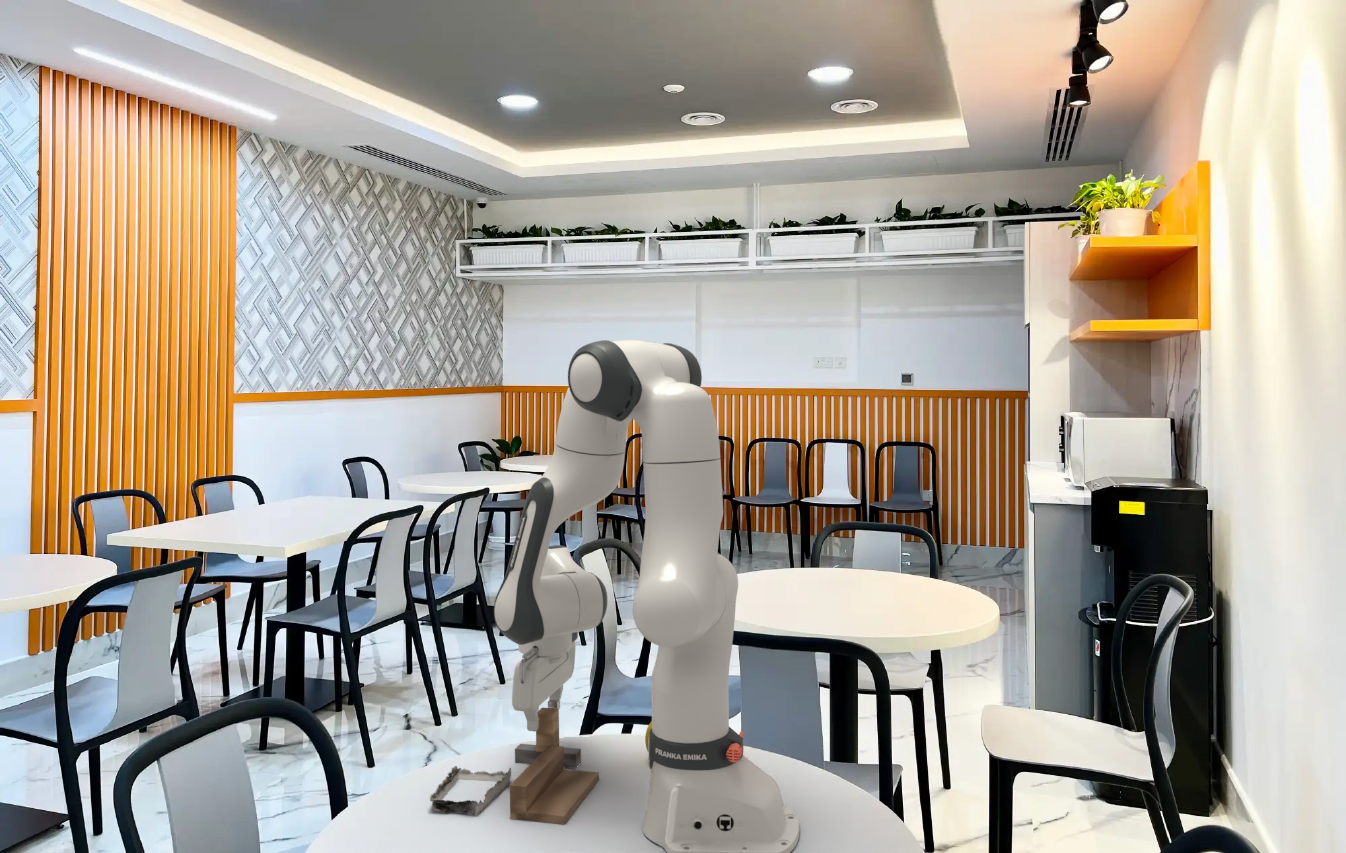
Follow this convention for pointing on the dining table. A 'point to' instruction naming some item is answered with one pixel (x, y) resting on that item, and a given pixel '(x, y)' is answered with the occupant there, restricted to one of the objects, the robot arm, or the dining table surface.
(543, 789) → the stop bar
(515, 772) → the dining table surface
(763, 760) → the dining table surface
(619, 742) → the dining table surface
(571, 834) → the dining table surface
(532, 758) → the oak pusher
